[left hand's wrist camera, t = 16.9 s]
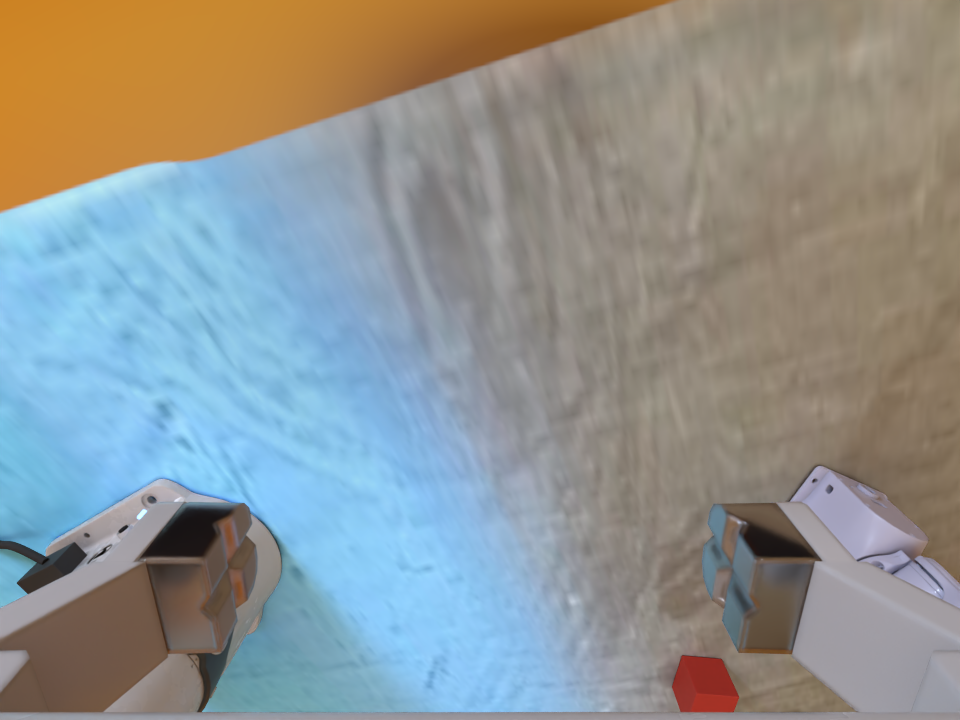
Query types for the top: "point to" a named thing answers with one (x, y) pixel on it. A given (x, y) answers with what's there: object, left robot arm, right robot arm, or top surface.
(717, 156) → the top surface
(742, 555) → the left robot arm
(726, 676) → the block
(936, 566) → the right robot arm
